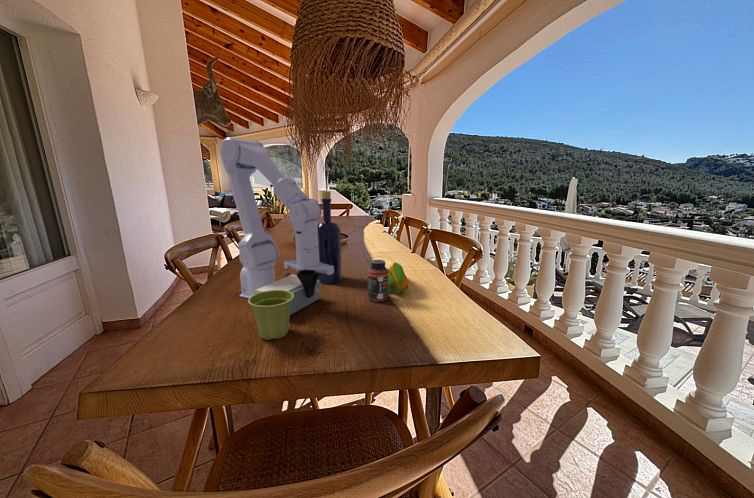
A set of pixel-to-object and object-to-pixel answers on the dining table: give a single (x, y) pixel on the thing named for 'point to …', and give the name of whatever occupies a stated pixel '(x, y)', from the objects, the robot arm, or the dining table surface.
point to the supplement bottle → (378, 281)
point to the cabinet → (283, 284)
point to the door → (304, 298)
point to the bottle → (329, 243)
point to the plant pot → (272, 312)
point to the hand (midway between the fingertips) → (310, 296)
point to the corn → (397, 279)
